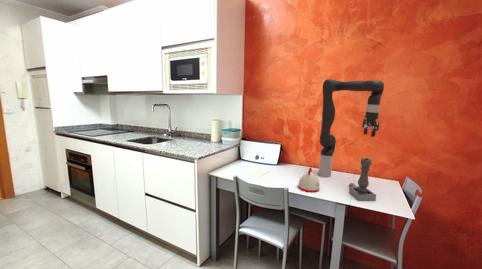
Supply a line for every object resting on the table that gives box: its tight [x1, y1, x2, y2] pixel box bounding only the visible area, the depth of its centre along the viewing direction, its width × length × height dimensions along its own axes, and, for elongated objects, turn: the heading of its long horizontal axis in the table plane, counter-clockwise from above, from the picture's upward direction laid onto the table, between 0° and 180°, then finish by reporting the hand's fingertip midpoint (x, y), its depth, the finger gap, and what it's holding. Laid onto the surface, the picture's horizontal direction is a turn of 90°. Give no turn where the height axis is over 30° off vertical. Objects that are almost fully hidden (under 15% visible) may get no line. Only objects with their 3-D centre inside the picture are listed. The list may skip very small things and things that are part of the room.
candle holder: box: [357, 157, 372, 194], centre depth 140 cm, size 6×6×25 cm
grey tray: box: [348, 182, 377, 202], centre depth 146 cm, size 18×11×5 cm, turn 3°
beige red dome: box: [297, 166, 320, 194], centre depth 152 cm, size 14×14×15 cm
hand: (368, 135), depth 150 cm, fingers open, 8 cm apart
